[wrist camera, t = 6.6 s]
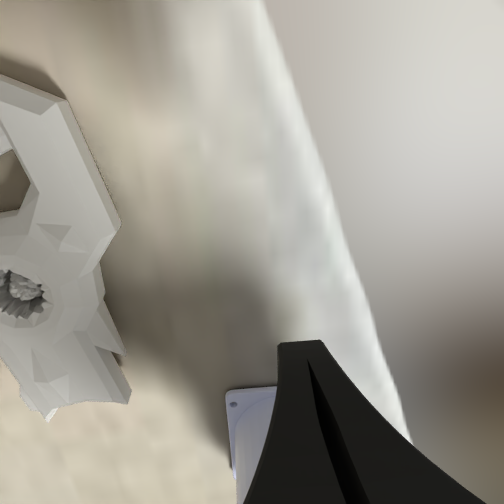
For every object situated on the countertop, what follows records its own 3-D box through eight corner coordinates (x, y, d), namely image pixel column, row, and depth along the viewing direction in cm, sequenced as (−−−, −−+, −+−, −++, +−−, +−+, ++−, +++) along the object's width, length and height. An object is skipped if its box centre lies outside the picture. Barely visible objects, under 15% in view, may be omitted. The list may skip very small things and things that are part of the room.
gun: (186, 406, 21) (20, 444, 22) (192, 363, 24) (46, 397, 25) (15, 47, 14) (-231, 124, 14) (56, 51, 17) (-148, 114, 17)
